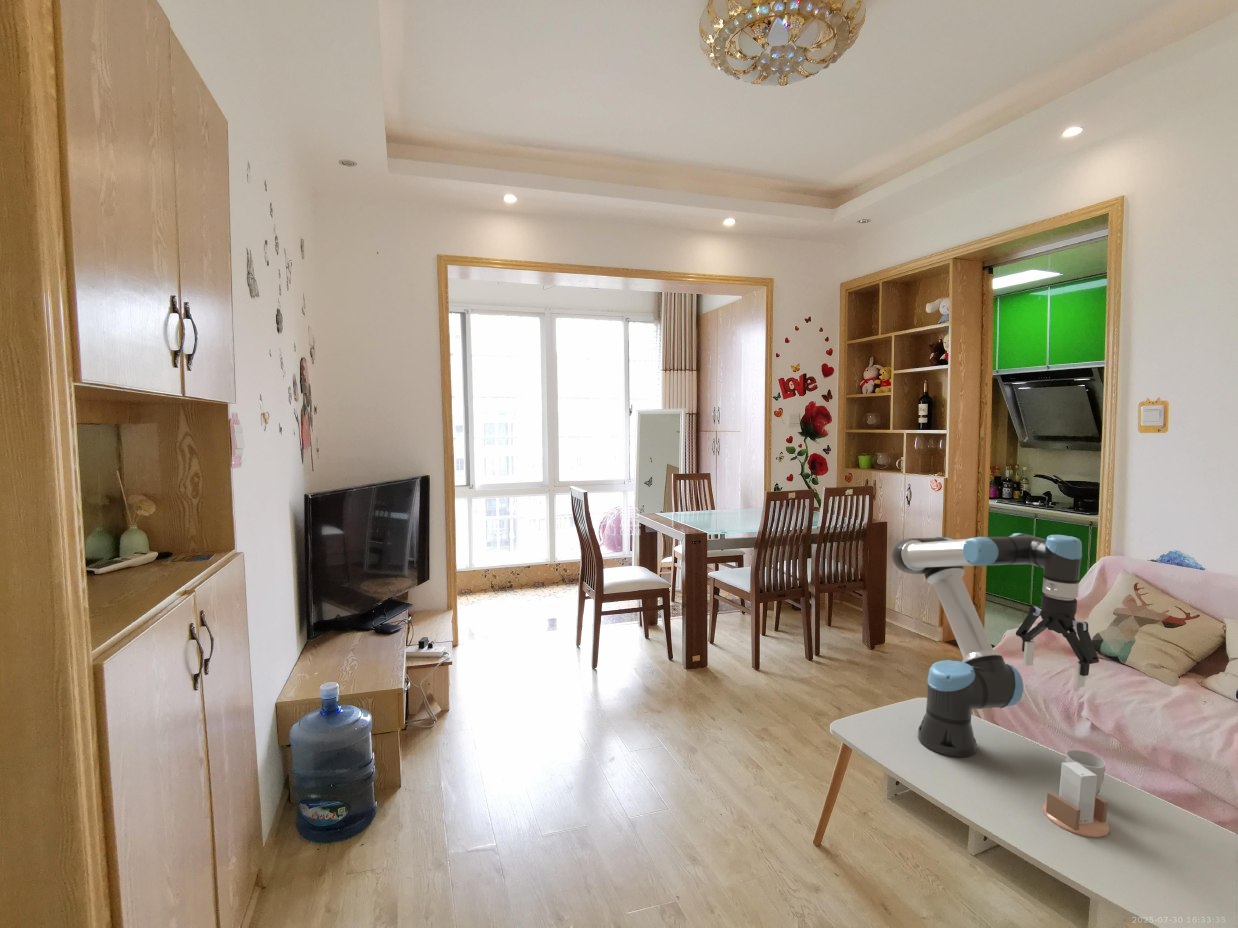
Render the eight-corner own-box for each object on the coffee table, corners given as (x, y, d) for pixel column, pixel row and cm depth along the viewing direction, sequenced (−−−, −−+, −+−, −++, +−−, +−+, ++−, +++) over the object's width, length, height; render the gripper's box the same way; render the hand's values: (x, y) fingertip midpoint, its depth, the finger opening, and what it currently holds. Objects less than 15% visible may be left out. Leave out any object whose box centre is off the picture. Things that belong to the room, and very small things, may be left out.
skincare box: (1093, 823, 149) (1098, 775, 148) (1077, 824, 148) (1081, 776, 147) (1072, 807, 155) (1076, 760, 154) (1056, 808, 154) (1060, 761, 153)
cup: (1108, 807, 156) (1112, 769, 155) (1072, 802, 158) (1075, 764, 157) (1091, 788, 164) (1095, 751, 163) (1056, 783, 165) (1059, 747, 164)
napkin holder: (1030, 807, 155) (1031, 786, 155) (1067, 797, 160) (1069, 776, 159) (1084, 842, 143) (1086, 819, 143) (1123, 830, 147) (1125, 808, 147)
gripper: (1004, 583, 173) (998, 658, 175) (1100, 612, 149) (1091, 698, 151) (1024, 581, 175) (1018, 655, 177) (1121, 609, 152) (1113, 694, 154)
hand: (1052, 675), depth 164 cm, fingers open, 13 cm apart
